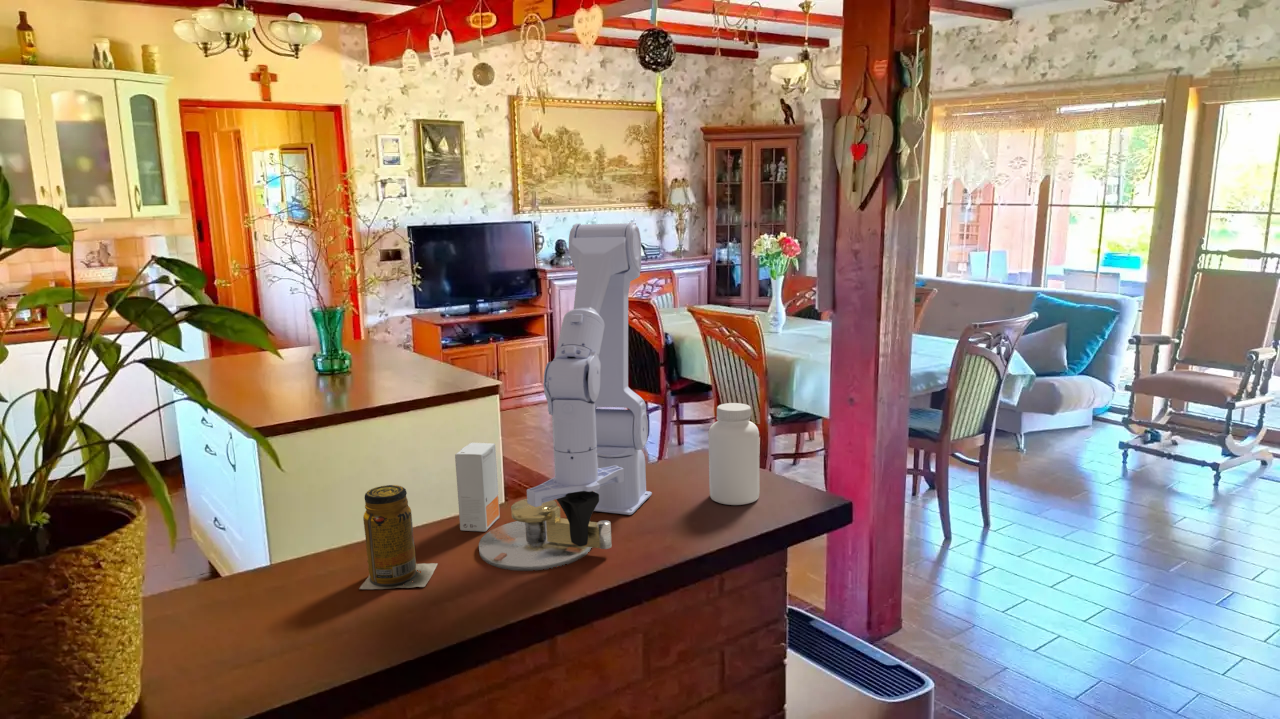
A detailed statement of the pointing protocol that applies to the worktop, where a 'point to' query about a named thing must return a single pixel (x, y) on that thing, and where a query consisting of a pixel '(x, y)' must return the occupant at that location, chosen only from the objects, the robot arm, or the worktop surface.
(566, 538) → the brass latch lever
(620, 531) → the worktop surface
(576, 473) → the robot arm
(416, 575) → the condiment
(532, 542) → the grey round base plate
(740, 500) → the pill bottle
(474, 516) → the skincare box
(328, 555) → the worktop surface
